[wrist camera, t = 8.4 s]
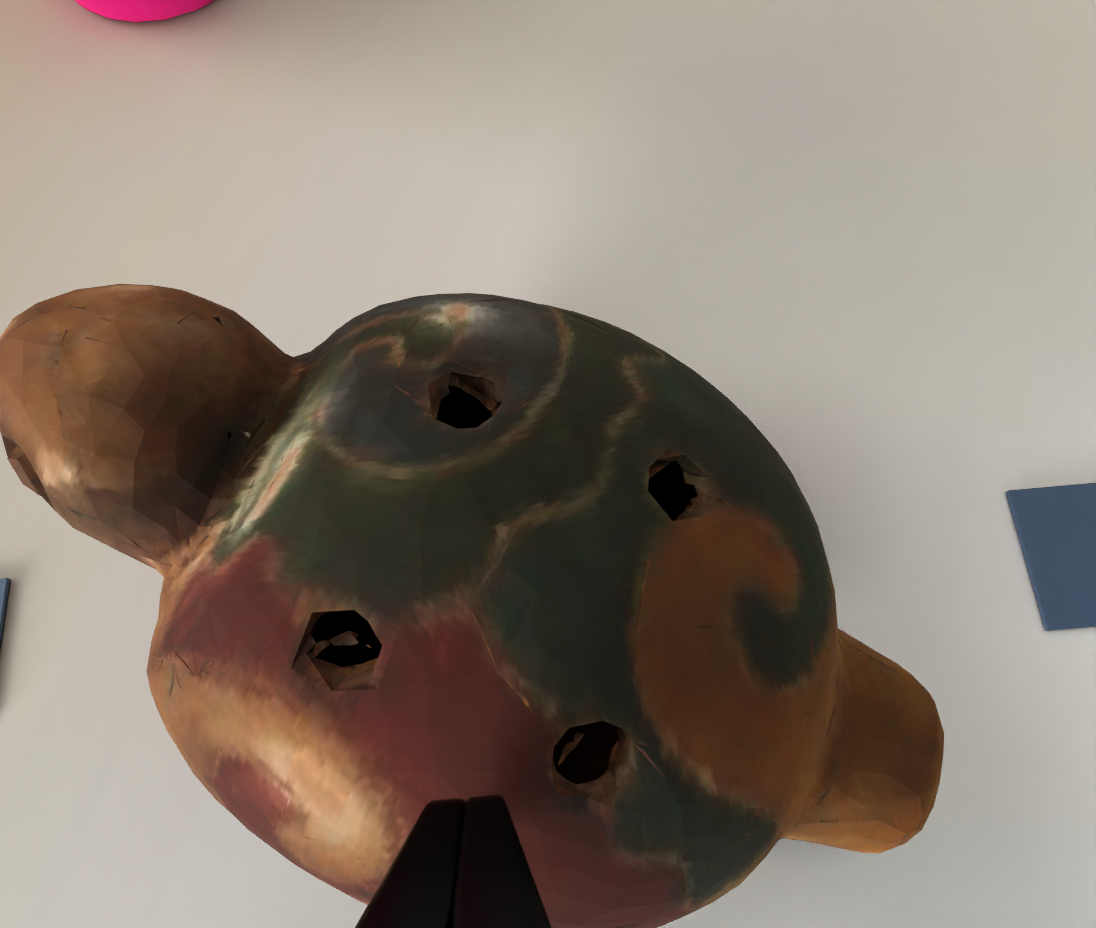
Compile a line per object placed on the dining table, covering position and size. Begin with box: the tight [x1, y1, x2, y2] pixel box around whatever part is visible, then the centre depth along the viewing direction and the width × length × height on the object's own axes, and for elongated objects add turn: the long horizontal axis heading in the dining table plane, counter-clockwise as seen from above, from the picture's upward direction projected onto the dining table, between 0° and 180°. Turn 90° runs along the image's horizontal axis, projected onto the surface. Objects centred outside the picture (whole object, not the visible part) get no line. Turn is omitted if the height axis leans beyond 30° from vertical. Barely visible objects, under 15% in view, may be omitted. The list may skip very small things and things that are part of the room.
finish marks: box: [0, 483, 1096, 643], centre depth 16 cm, size 3×38×1 cm, turn 95°
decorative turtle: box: [0, 284, 944, 928], centre depth 13 cm, size 10×15×8 cm, turn 72°
